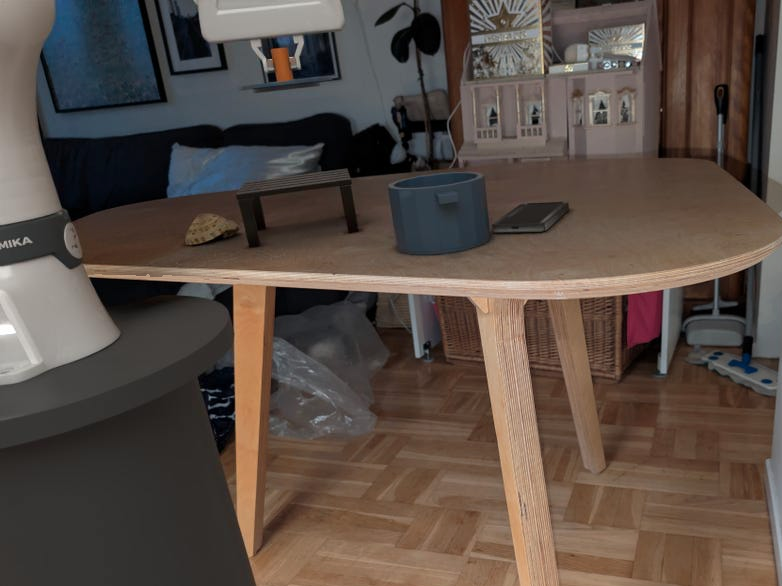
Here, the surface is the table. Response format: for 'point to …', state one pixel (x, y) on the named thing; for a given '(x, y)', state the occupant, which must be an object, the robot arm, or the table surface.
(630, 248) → the table surface
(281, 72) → the lid
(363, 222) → the table surface
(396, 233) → the pot
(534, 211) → the phone
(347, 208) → the rack
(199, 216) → the seashell
